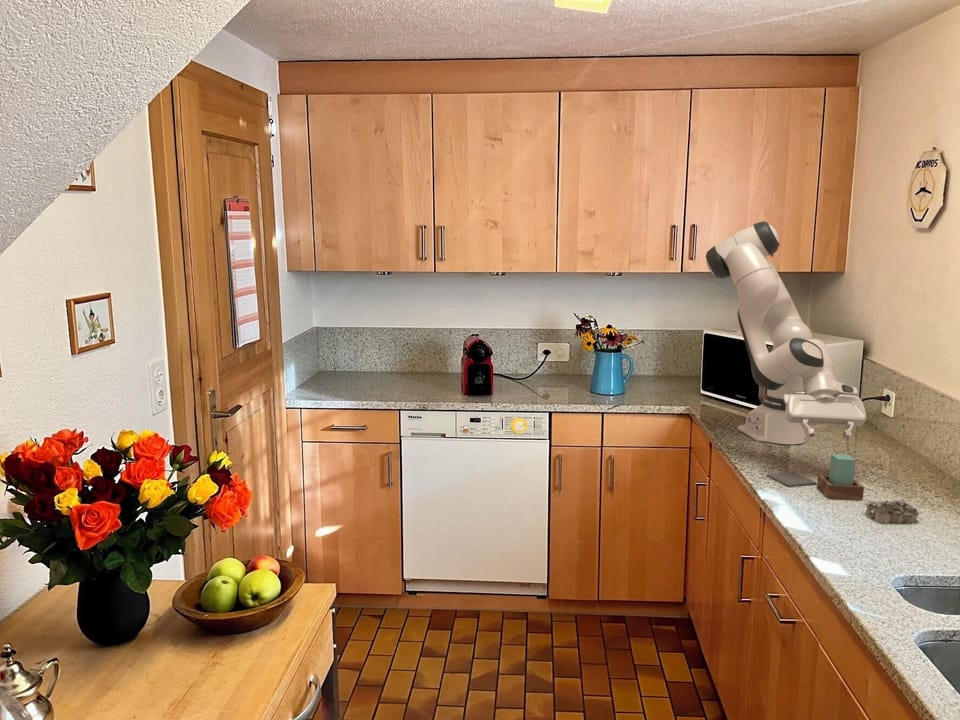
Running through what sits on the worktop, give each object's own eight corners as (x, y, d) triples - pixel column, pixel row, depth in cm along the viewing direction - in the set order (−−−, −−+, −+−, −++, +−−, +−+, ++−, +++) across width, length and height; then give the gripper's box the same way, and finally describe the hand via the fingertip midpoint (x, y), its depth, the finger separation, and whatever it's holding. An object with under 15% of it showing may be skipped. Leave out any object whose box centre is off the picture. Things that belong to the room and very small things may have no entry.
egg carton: (878, 525, 178) (880, 508, 177) (860, 513, 185) (862, 497, 185) (922, 525, 179) (924, 508, 178) (902, 512, 186) (904, 496, 186)
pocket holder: (816, 487, 202) (818, 474, 202) (849, 489, 201) (851, 476, 201) (828, 498, 194) (829, 485, 193) (862, 500, 193) (864, 487, 193)
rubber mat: (766, 476, 210) (766, 474, 210) (793, 473, 213) (793, 471, 213) (788, 487, 202) (789, 485, 202) (816, 484, 205) (816, 482, 204)
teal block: (827, 490, 200) (831, 453, 198) (844, 491, 200) (848, 454, 198) (833, 496, 196) (837, 459, 194) (851, 497, 195) (855, 459, 194)
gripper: (785, 384, 210) (792, 428, 202) (863, 388, 208) (873, 432, 200) (779, 397, 215) (785, 440, 207) (855, 400, 213) (864, 444, 205)
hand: (829, 436), depth 204 cm, fingers open, 8 cm apart
